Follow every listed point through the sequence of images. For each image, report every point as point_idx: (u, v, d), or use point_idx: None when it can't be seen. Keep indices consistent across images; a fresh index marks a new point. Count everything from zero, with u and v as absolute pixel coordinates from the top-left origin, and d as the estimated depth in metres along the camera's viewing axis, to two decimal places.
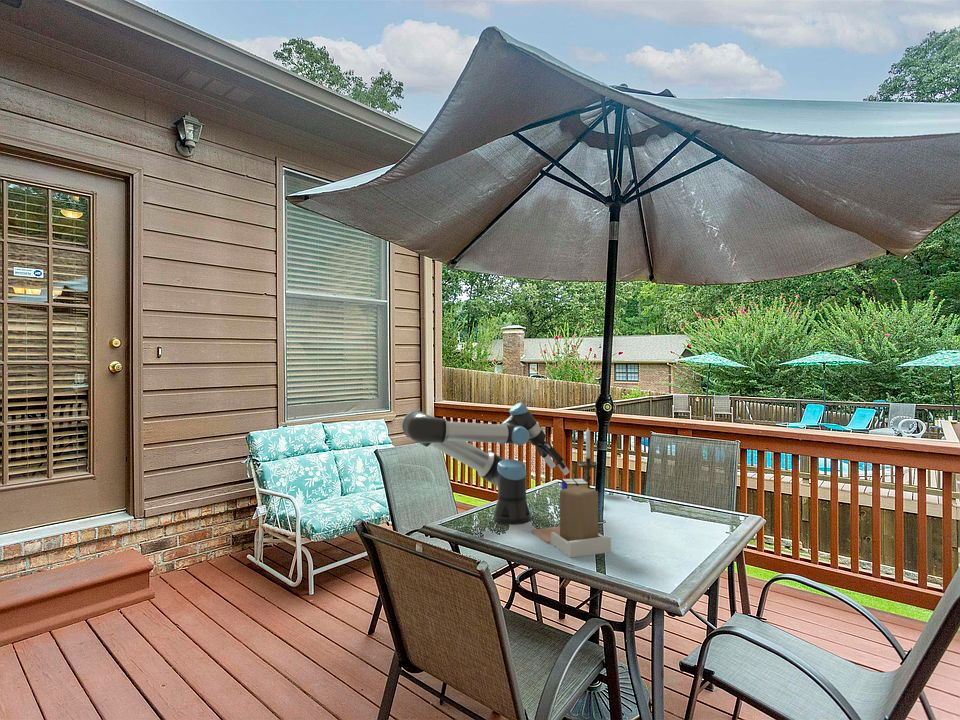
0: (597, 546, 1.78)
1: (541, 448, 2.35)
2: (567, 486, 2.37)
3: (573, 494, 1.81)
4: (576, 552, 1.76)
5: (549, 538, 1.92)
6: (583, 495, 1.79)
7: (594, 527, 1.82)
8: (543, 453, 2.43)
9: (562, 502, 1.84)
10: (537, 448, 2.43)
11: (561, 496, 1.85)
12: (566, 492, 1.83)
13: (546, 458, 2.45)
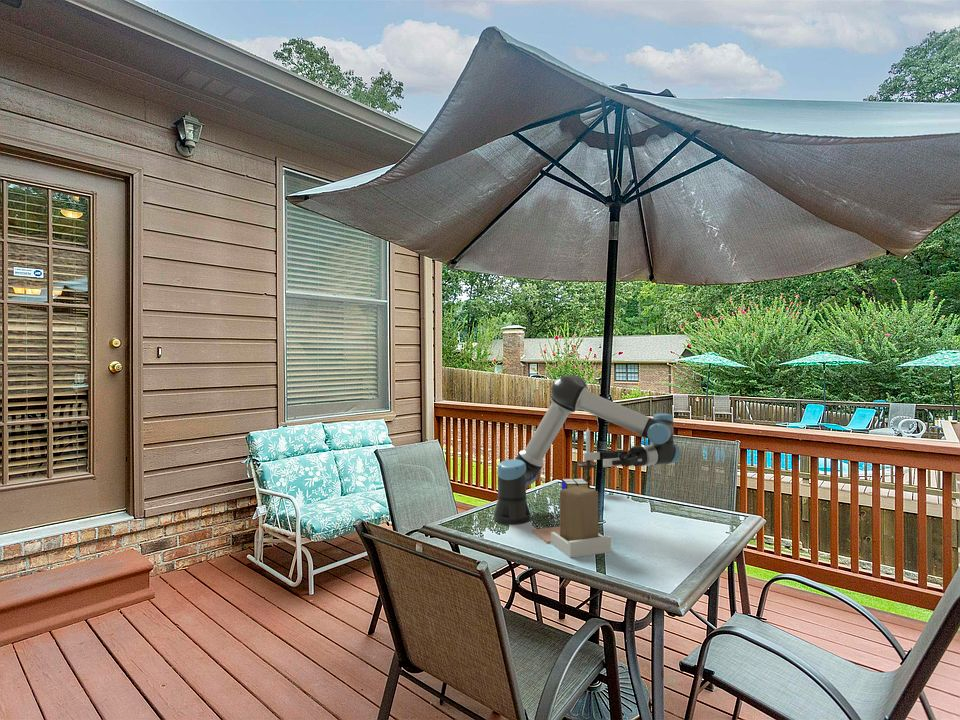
0: (597, 546, 1.78)
1: (631, 452, 1.99)
2: (567, 486, 2.37)
3: (573, 494, 1.81)
4: (576, 552, 1.76)
5: (549, 538, 1.92)
6: (583, 495, 1.79)
7: (594, 527, 1.82)
8: (607, 454, 2.04)
9: (562, 502, 1.84)
10: (612, 451, 2.06)
11: (561, 496, 1.85)
12: (566, 492, 1.83)
13: (598, 454, 2.04)
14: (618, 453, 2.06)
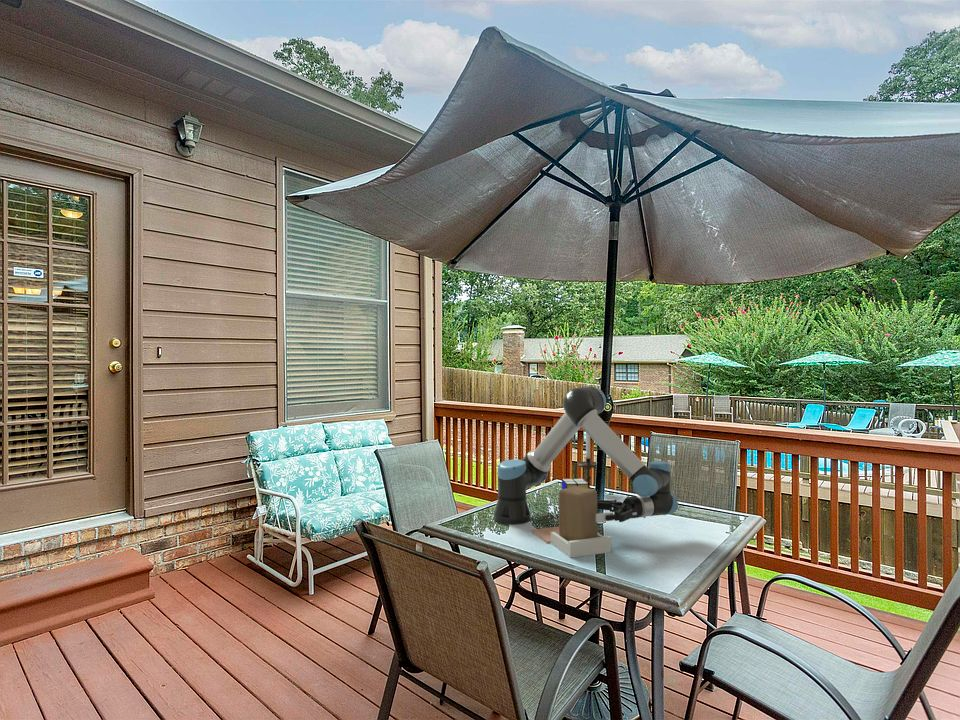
0: (597, 546, 1.78)
1: (625, 504, 1.88)
2: (567, 486, 2.37)
3: (573, 494, 1.81)
4: (576, 552, 1.76)
5: (549, 538, 1.92)
6: (583, 495, 1.79)
7: (593, 526, 1.83)
8: (600, 504, 1.93)
9: (561, 502, 1.84)
10: (606, 501, 1.96)
11: (560, 496, 1.84)
12: (565, 492, 1.83)
13: None
14: None
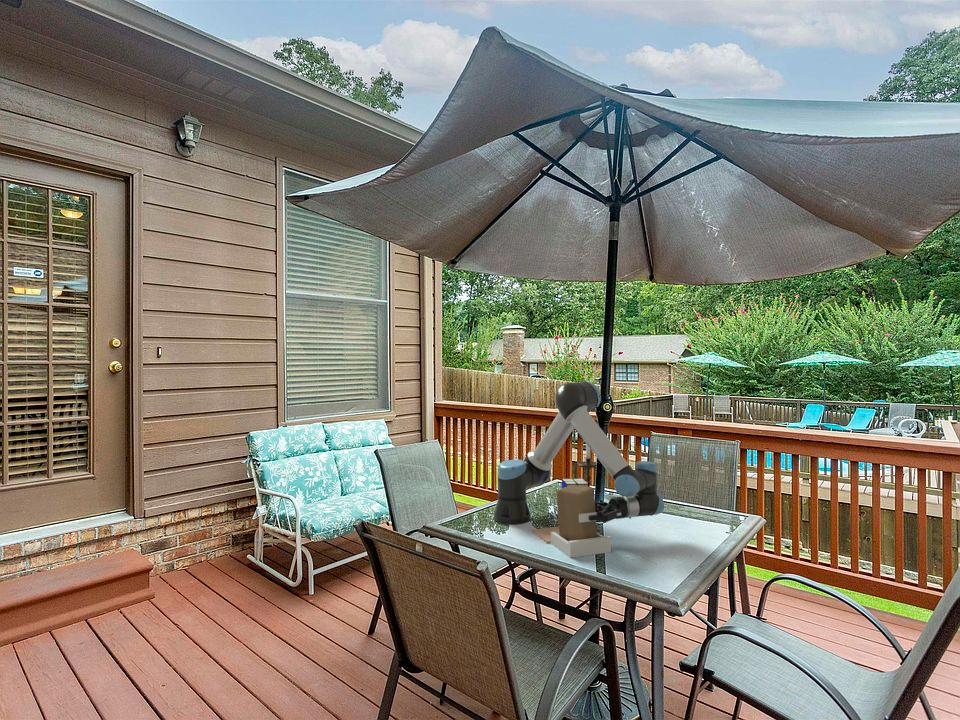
0: (597, 546, 1.78)
1: (610, 505, 1.87)
2: None
3: (572, 493, 1.81)
4: (576, 552, 1.76)
5: (549, 538, 1.92)
6: (582, 494, 1.80)
7: (592, 524, 1.84)
8: None
9: (560, 502, 1.84)
10: None
11: (559, 496, 1.84)
12: (564, 492, 1.83)
13: None
14: (598, 503, 1.94)
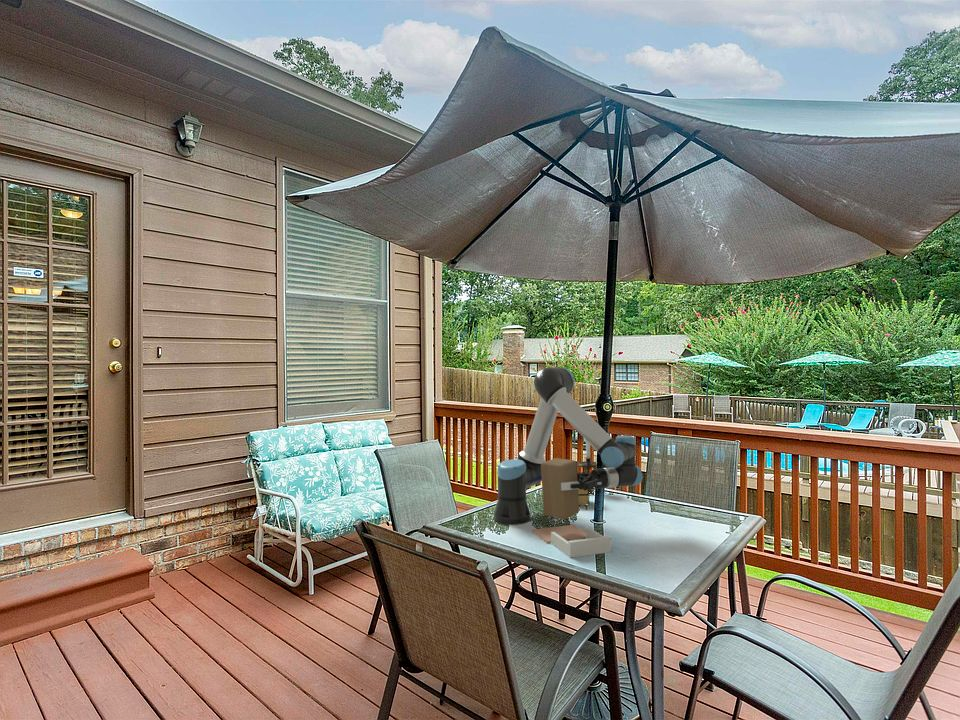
0: (597, 546, 1.78)
1: (591, 475, 1.99)
2: None
3: (554, 466, 1.93)
4: (576, 552, 1.76)
5: (549, 538, 1.92)
6: (564, 466, 1.92)
7: (574, 494, 1.96)
8: None
9: (543, 474, 1.96)
10: None
11: (543, 469, 1.96)
12: (547, 464, 1.95)
13: None
14: (580, 475, 2.06)
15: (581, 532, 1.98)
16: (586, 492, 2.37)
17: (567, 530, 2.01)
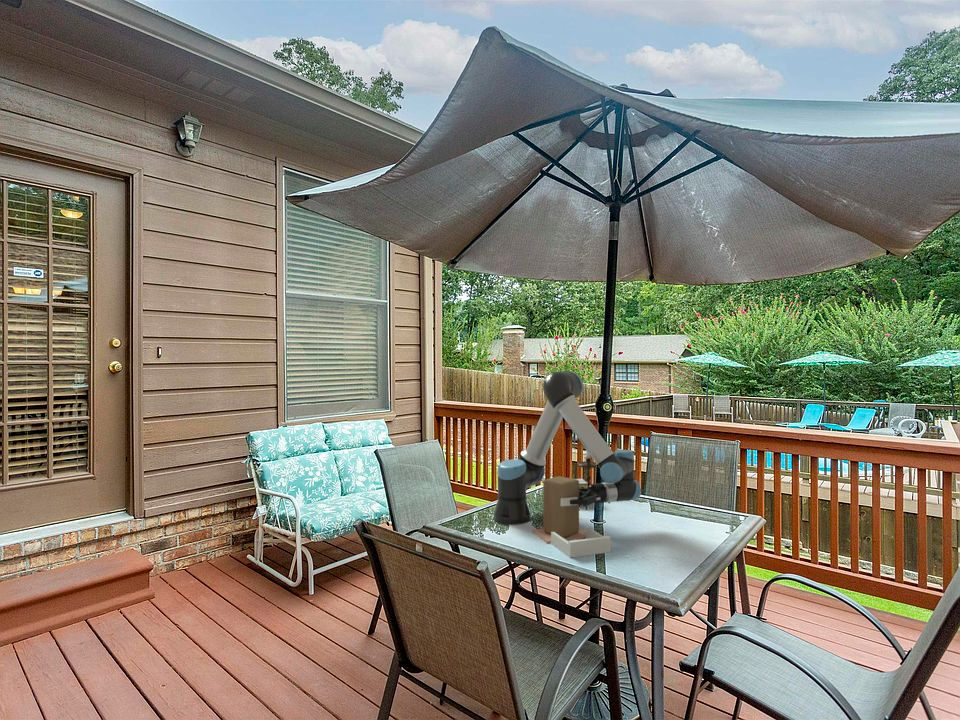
0: (597, 546, 1.78)
1: (590, 490, 2.00)
2: None
3: (556, 483, 1.94)
4: (576, 552, 1.76)
5: (549, 538, 1.92)
6: (566, 484, 1.93)
7: (575, 513, 1.96)
8: None
9: (545, 491, 1.97)
10: None
11: (545, 485, 1.97)
12: (550, 482, 1.96)
13: None
14: (579, 489, 2.07)
15: (581, 532, 1.98)
16: None
17: None
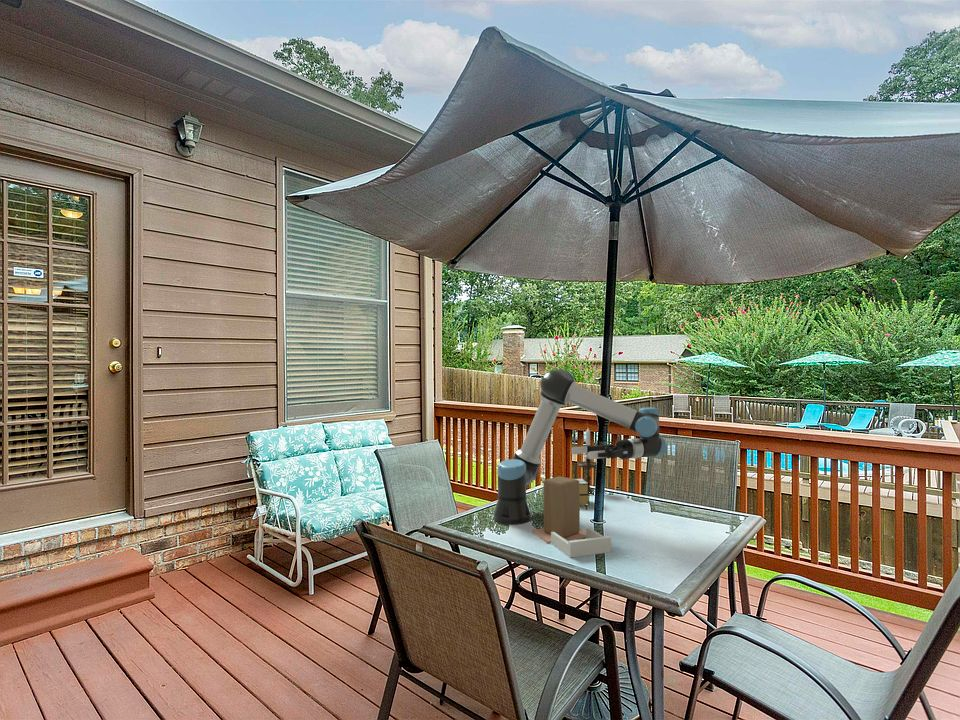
0: (597, 546, 1.78)
1: (617, 445, 2.04)
2: None
3: (556, 483, 1.94)
4: (576, 552, 1.76)
5: (549, 538, 1.92)
6: (565, 484, 1.93)
7: (575, 514, 1.96)
8: (594, 448, 2.09)
9: (545, 491, 1.97)
10: None
11: (545, 485, 1.98)
12: (549, 482, 1.96)
13: (585, 448, 2.10)
14: (605, 447, 2.11)
15: (581, 532, 1.98)
16: (586, 492, 2.37)
17: None
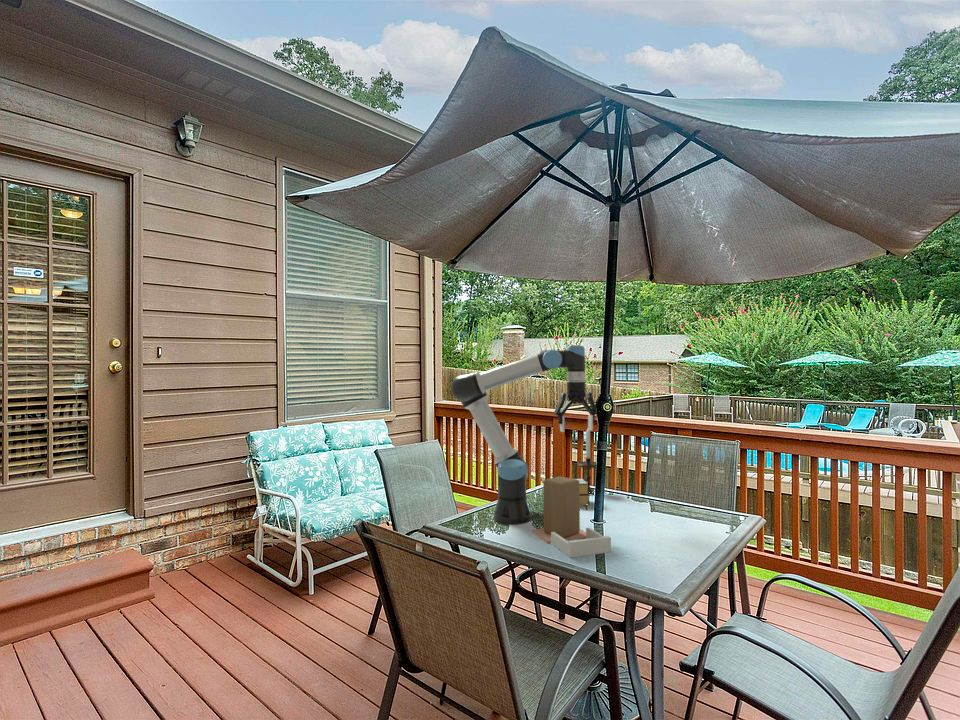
0: (597, 546, 1.78)
1: None
2: None
3: (556, 483, 1.94)
4: (576, 552, 1.76)
5: (549, 538, 1.92)
6: (565, 484, 1.93)
7: (575, 514, 1.96)
8: (586, 409, 2.30)
9: (545, 491, 1.97)
10: None
11: (545, 485, 1.98)
12: (549, 482, 1.96)
13: (589, 416, 2.30)
14: (587, 397, 2.30)
15: (581, 532, 1.98)
16: (586, 492, 2.37)
17: None
